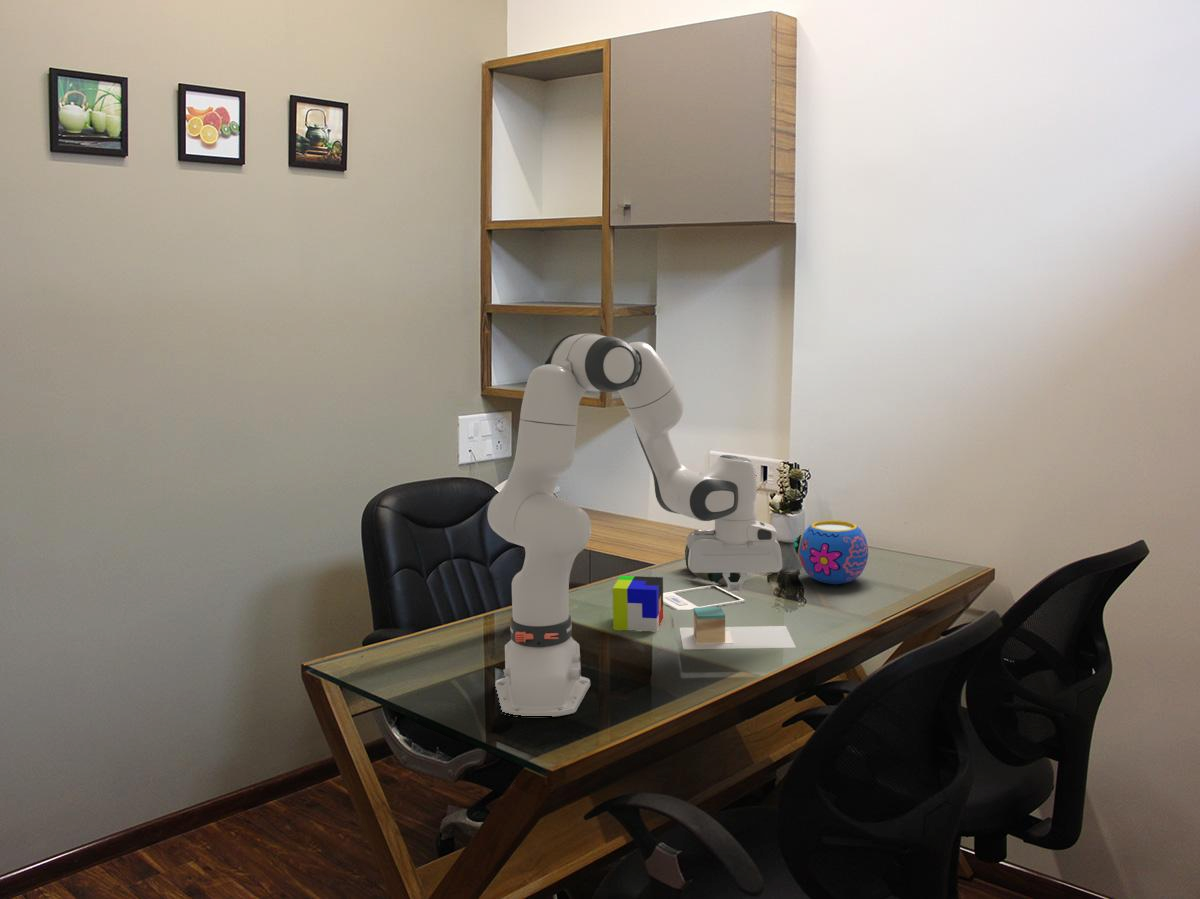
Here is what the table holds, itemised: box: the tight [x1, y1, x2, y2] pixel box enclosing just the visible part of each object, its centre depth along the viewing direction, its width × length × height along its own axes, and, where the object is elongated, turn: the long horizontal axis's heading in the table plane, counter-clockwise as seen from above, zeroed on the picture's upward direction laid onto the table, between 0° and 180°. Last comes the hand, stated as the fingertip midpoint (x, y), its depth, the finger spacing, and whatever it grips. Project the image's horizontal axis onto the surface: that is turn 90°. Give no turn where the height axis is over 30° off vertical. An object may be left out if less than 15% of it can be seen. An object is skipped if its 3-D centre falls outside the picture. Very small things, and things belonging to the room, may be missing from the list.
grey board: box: [678, 625, 797, 650], centre depth 241 cm, size 14×24×1 cm, turn 90°
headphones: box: [684, 544, 741, 586], centre depth 291 cm, size 13×13×20 cm
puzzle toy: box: [612, 575, 664, 632], centre depth 254 cm, size 10×10×10 cm
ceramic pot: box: [793, 520, 869, 585], centre depth 283 cm, size 18×18×15 cm
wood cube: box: [693, 606, 726, 643], centre depth 240 cm, size 6×6×6 cm
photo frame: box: [663, 584, 746, 611], centre depth 272 cm, size 15×1×18 cm
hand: (734, 591), depth 239 cm, fingers closed
